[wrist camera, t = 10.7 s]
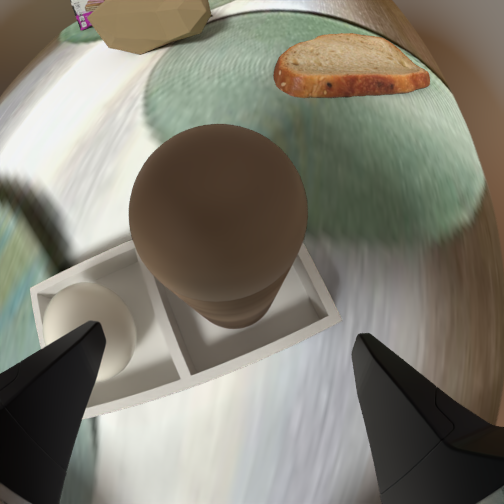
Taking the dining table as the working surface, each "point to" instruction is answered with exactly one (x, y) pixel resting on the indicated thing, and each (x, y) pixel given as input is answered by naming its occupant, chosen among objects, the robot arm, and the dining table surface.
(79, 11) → the candy bar box
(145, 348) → the white divided tray
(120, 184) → the dining table surface
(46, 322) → the cream white ball
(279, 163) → the brown domed cylinder
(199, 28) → the low-poly potato
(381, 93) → the slice of bread
